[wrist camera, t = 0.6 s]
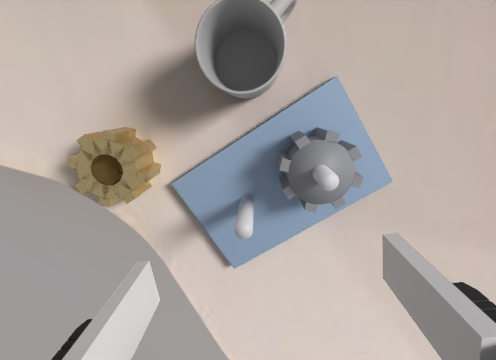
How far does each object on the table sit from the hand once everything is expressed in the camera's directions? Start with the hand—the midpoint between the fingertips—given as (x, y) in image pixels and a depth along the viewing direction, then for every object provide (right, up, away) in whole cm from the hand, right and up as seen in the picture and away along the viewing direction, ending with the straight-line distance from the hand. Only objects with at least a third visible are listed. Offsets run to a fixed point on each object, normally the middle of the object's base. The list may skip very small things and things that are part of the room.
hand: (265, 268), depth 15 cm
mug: (0, +21, +19) cm, 29 cm away
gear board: (+3, +5, +23) cm, 24 cm away
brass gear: (-18, +8, +23) cm, 31 cm away
